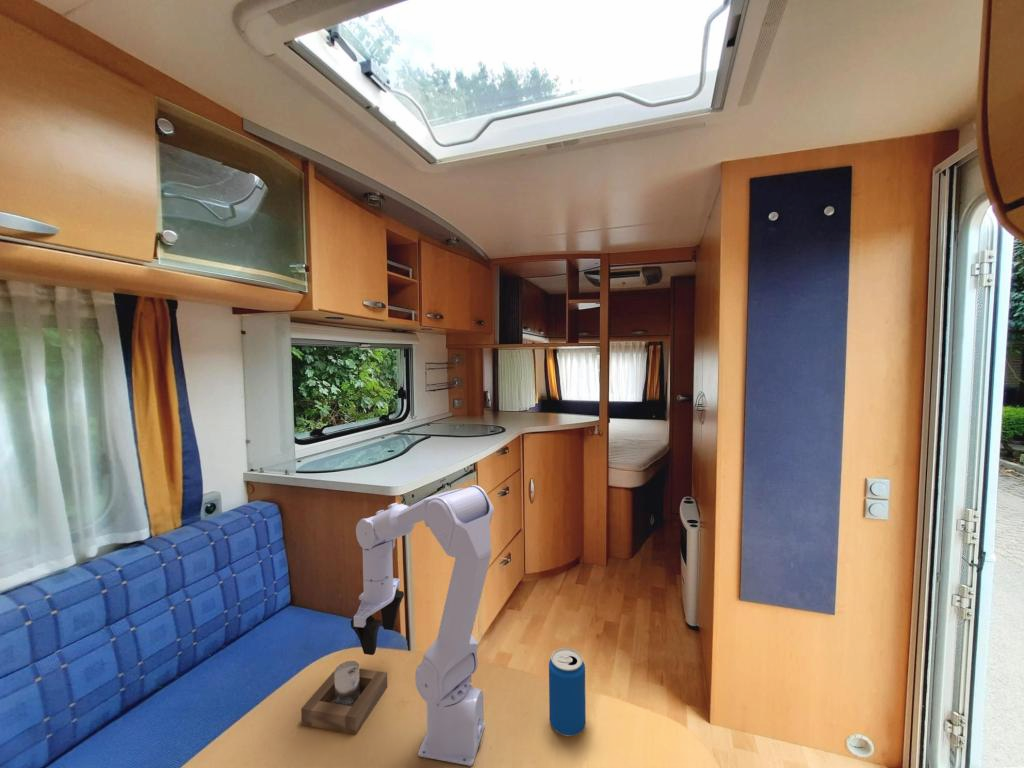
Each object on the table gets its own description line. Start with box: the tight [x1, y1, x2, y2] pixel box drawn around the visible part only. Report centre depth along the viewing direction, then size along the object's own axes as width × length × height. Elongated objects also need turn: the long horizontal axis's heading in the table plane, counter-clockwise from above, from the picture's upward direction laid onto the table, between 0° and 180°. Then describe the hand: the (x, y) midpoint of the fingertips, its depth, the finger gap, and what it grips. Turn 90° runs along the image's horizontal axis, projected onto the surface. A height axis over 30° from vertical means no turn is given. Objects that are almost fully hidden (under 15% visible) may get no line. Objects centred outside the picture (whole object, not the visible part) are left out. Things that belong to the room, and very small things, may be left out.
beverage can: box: [548, 647, 587, 737], centre depth 72 cm, size 6×6×12 cm
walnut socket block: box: [300, 668, 388, 735], centre depth 77 cm, size 11×11×3 cm
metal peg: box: [333, 660, 361, 706], centre depth 77 cm, size 4×4×7 cm
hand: (379, 640), depth 82 cm, fingers open, 7 cm apart
